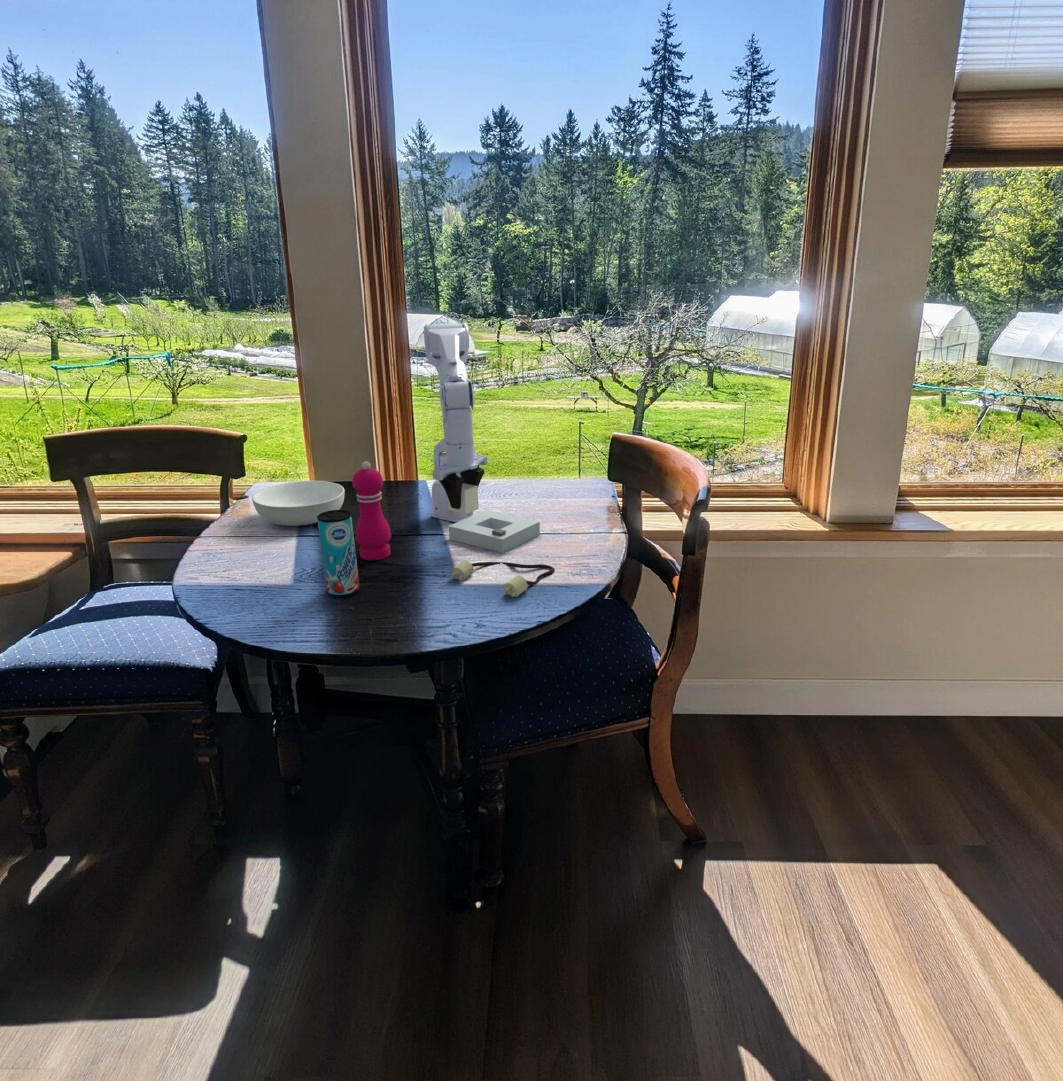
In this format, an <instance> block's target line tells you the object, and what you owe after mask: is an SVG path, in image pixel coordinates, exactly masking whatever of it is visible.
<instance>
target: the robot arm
mask: <svg viewBox="0 0 1063 1081" xmlns="http://www.w3.org/2000/svg"><path fill="white" fill-rule="evenodd" d="M423 339H424V349H425V350H424V351H425V358H426V360H427V364H429V365H431V366H434V367H435V369H436V372H437V374H438V379H439V380H438V381H439V403H440V408H441V415H442V428H443V438H442V439H441V440H440V441H439V442H438V443H437V444H435V446H434V448H433V469H432V479H433V480H434V482H433V483H432V486H431V500H432V501H431V502H432V503H431V504H432V513H430V517H432V518H435V519H440V520H445V521H447V522H452V523H457V522H459V521H462V520H464V519H467V518H469V517H471V516H467V514H464V513H460V512H456V515H451V510H448V500H447V496H448V499H449V502H450V505H451V508H455V509H460V507H461V489H462V484H463V483H465V484H470V485H475V486H478V488H479V486H480V483H481V481H482V478H483V477H484V475H485V468H483V467H482V468H481V467H480V466H486V465H488V462H489V461H488V455H485V454H478V455H477V453H476V452H477V451H476V446H475V445H474V426H473V424H474V423H473V410H474V406H475V395H474V394H475V393H474V392H475V391H474V386H473V383H472V380H471V379H470V378H469V377H468V376H469V375H468V370H467V366H466V365H465V363H467V362H468V358H469V349H470V332H469V326H468V324H467V323H466V322H462V323H460V322H459V323H443V324H440V323H439V324H428V323H425V325H424V326H423ZM470 407H471V408H470ZM479 513H481V512H480V511H478V510H475V511H473V515H472V516H474V515H476V514H479Z"/></svg>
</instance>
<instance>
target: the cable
mask: <svg viewBox="0 0 1063 1081" xmlns="http://www.w3.org/2000/svg"><path fill="white" fill-rule="evenodd" d="M500 563H503V564H502V565H505V564H506V566H507V567H508V566H509V567H513V568H519V569H547V568H549V569H548V570H547V571H546V572H543V573H541V574H539V575H538V576H537V578H536V580H535V581H532V580H526V578H524V577H523V576H521V575H516V576H515V577H513V578H512V579H510V580H509V581H508V582H506V583H505V584H504V585H503V595H504V596H506V595H509V596H511V598H512V597H514V598H517V597H519V596H520V595H521V594H522V593H524V592H525V591H526V590H527V589H528V586H535V585H537V584H539V583H540V581H541V580H542V579H543V578H545V577H547V576H550V575H552V574H553V572H555V570H556V569H555V568H554V566H552V565H548V564H543V563H540V564H539V563H538V564H535V563H534V564H522V563H515V562H508V561H507V562H506V561H505V562H504V561H483V562H482V561H481V562H478V561H477V562H472V563H471V562H470V561H468V560H461V561H460V562H459V563H458V564H456V565H455V566H454V567H453V568H452V569H451V570H450V571H451V577H450V578H451V580H454V579H455V580H459V581H463V582H464V581H465V580H466V579H468V578H469V577H470V576H471V575H473V573H474V567H475V568H476V567H485V566H495V565H501V564H500ZM550 569H551V570H550ZM542 577H543V578H542ZM534 584H535V585H534Z"/></svg>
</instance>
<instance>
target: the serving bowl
mask: <svg viewBox="0 0 1063 1081" xmlns="http://www.w3.org/2000/svg"><path fill="white" fill-rule="evenodd" d="M345 493H346V492H345V488H344V487H343V486H342V485H341V484H339V483H335V482H332V481H325V480H299V481H291V482H284V483H283V482H282V483H278V484H274V485H271V486H268V487H265V488H262V489H260V490H258V491H256V492H255V493H254V494H253V495H252V498H251V501H252V503H253V506H254V509H255V511H256V512H257V513H258V515H259V516H260V517H261V518H262V519H264V520H265V521H267V522H269V523H272V524H275V525H279V526H288V527H289V526H290V527H300V526H299V525H304V526H308V524H310V525H313V523H314V524H316V523H317V524H318V519H317V516H318V515H319V514H321V513H323V512H326V511H332V510H341V508H342V506H343V504H344V500H345Z"/></svg>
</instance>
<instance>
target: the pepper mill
mask: <svg viewBox="0 0 1063 1081" xmlns="http://www.w3.org/2000/svg"><path fill="white" fill-rule="evenodd" d="M371 465H372V464H371V463H370V462H369V461H367V460H366V461H363V462H362V463H361V468H362V469H359V470H357V471H356V472H355V473H354V475H353V476H352V487H353V489H354V490H355V491H356V492H357V493H356V501H357V502H358V503H359V509H360V510H359V519H358V521H357V525H356V529H355V540H356V542H357V544H359V545H360V547H359V556H360V558H361V559H362V560H366V561H380V560H383V559H386V558H388V557H389V556H391V546H390V544H389V542H390V540H391V538H392V532H391V527H390V525H389V523H388V521H387V518H386V517H385V516H384V514H383V511H382V506H381V500H382V499H383V496H382V493H383V492H382V491H381V489H382V488H383V485H384V479H383V475H382V474H381V473H380V471H378V470H377V469H375V468H371Z"/></svg>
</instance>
